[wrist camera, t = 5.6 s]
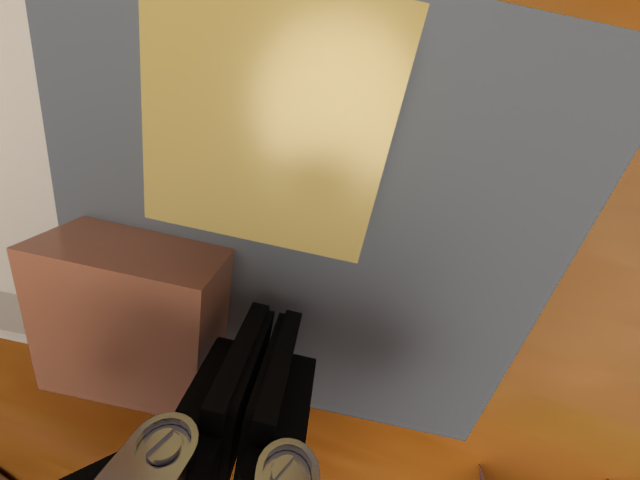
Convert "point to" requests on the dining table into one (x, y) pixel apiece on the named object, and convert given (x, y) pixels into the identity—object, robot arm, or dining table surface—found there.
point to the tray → (20, 157)
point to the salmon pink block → (120, 310)
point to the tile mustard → (273, 114)
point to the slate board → (391, 196)
